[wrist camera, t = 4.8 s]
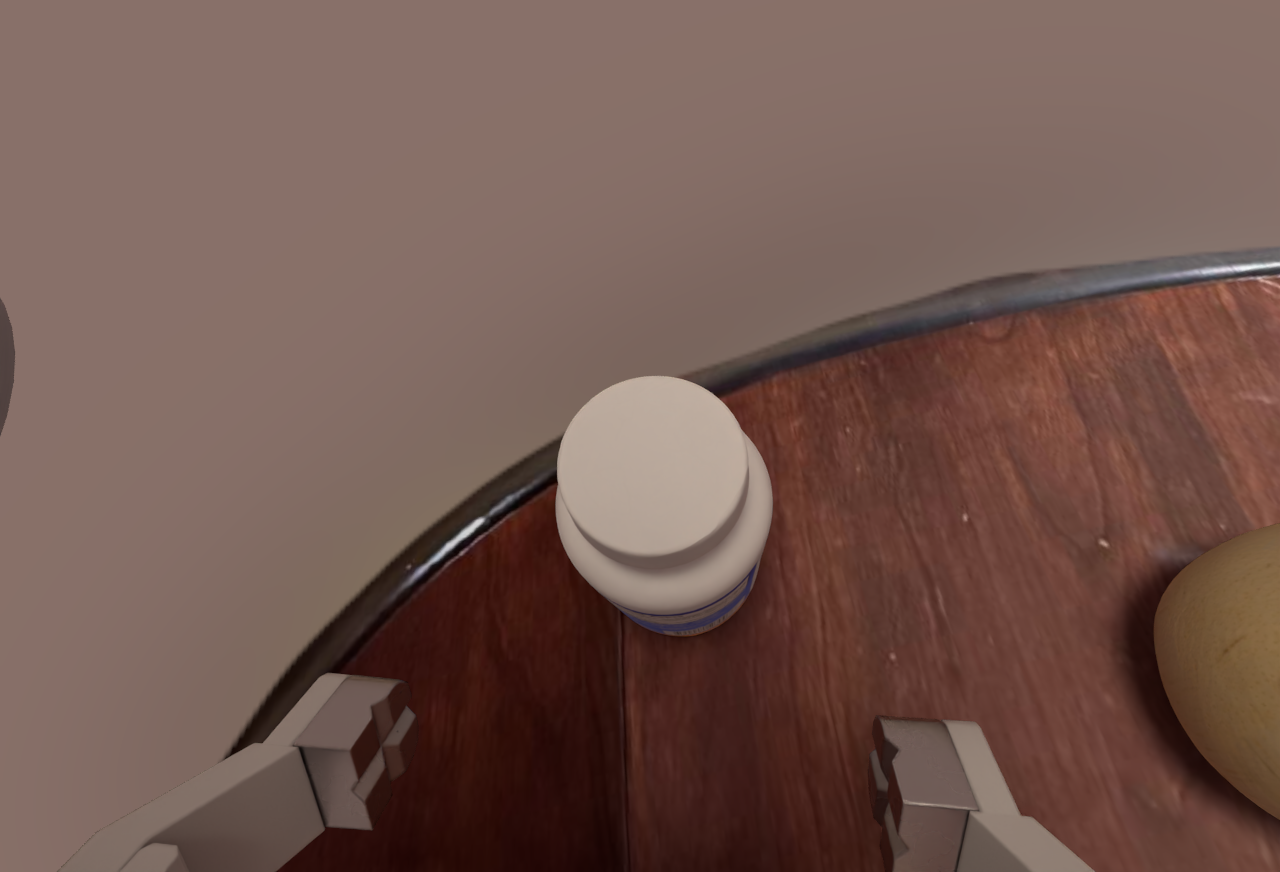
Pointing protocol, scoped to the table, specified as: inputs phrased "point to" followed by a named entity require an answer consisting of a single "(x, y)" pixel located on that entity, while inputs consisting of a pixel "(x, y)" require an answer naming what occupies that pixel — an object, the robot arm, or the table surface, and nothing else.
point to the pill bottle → (663, 503)
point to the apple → (1228, 660)
